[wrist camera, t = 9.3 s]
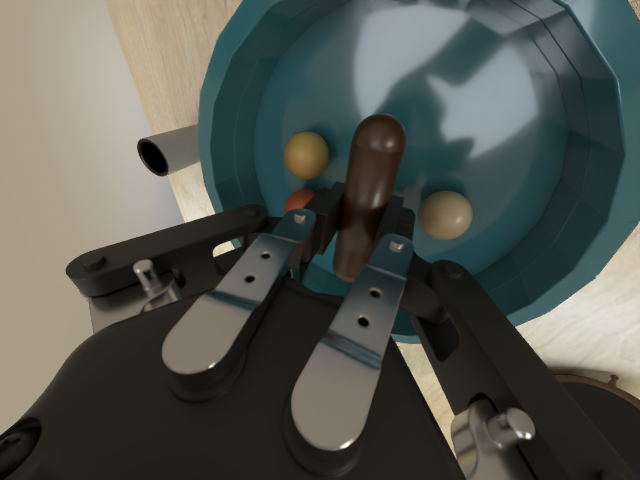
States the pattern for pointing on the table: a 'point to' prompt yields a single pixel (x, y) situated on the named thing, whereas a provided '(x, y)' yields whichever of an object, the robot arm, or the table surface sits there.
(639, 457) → the alarm clock
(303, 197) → the bead
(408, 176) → the bowl
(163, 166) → the gray black cylinder
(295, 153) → the bead
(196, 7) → the table surface
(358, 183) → the stick
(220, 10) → the table surface
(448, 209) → the bead
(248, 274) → the robot arm
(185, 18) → the table surface
